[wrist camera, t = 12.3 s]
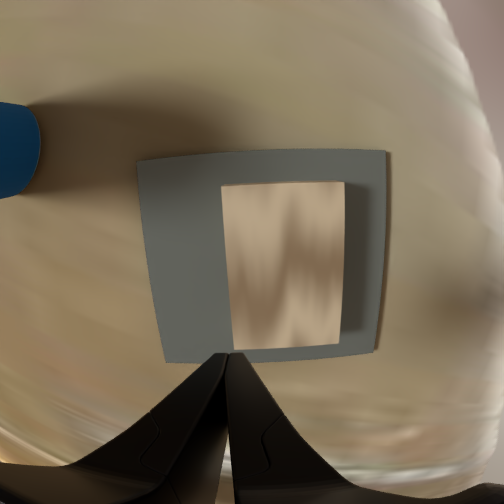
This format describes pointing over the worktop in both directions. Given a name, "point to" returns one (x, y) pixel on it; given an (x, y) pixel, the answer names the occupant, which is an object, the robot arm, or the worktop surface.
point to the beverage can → (17, 148)
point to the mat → (214, 254)
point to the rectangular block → (284, 262)
